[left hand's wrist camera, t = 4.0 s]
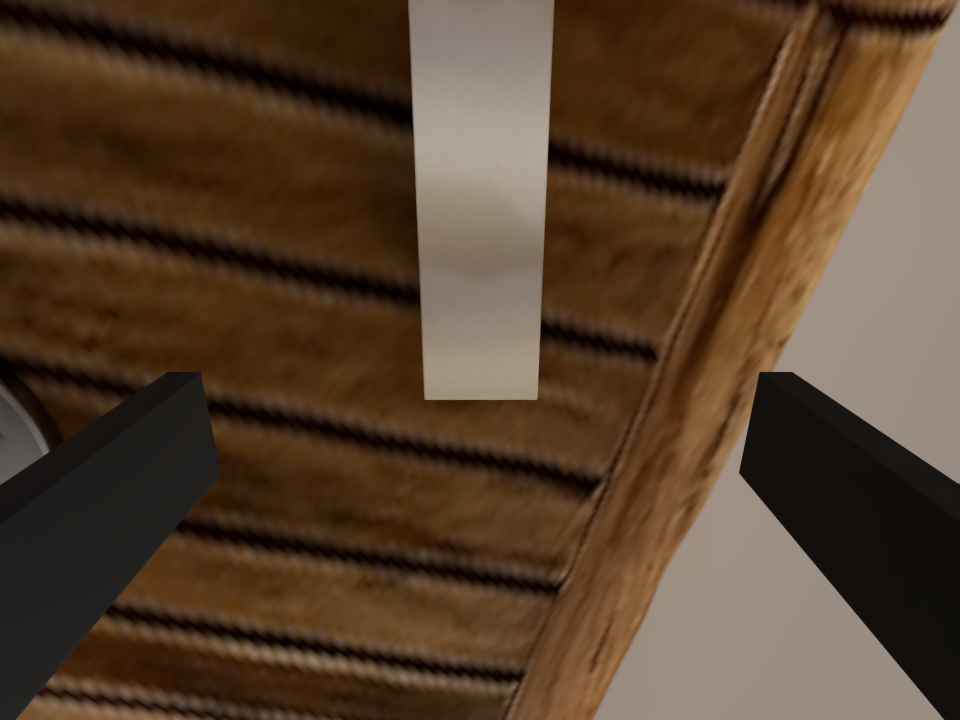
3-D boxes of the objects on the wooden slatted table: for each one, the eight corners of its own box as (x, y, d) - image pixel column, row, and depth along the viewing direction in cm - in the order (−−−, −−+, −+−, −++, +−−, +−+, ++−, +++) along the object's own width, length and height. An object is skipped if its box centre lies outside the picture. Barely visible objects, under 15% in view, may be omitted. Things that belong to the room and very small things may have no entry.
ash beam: (522, 337, 28) (537, 400, 21) (439, 337, 28) (424, 400, 21) (542, -341, 19) (583, -665, 12) (419, -341, 19) (380, -665, 12)
